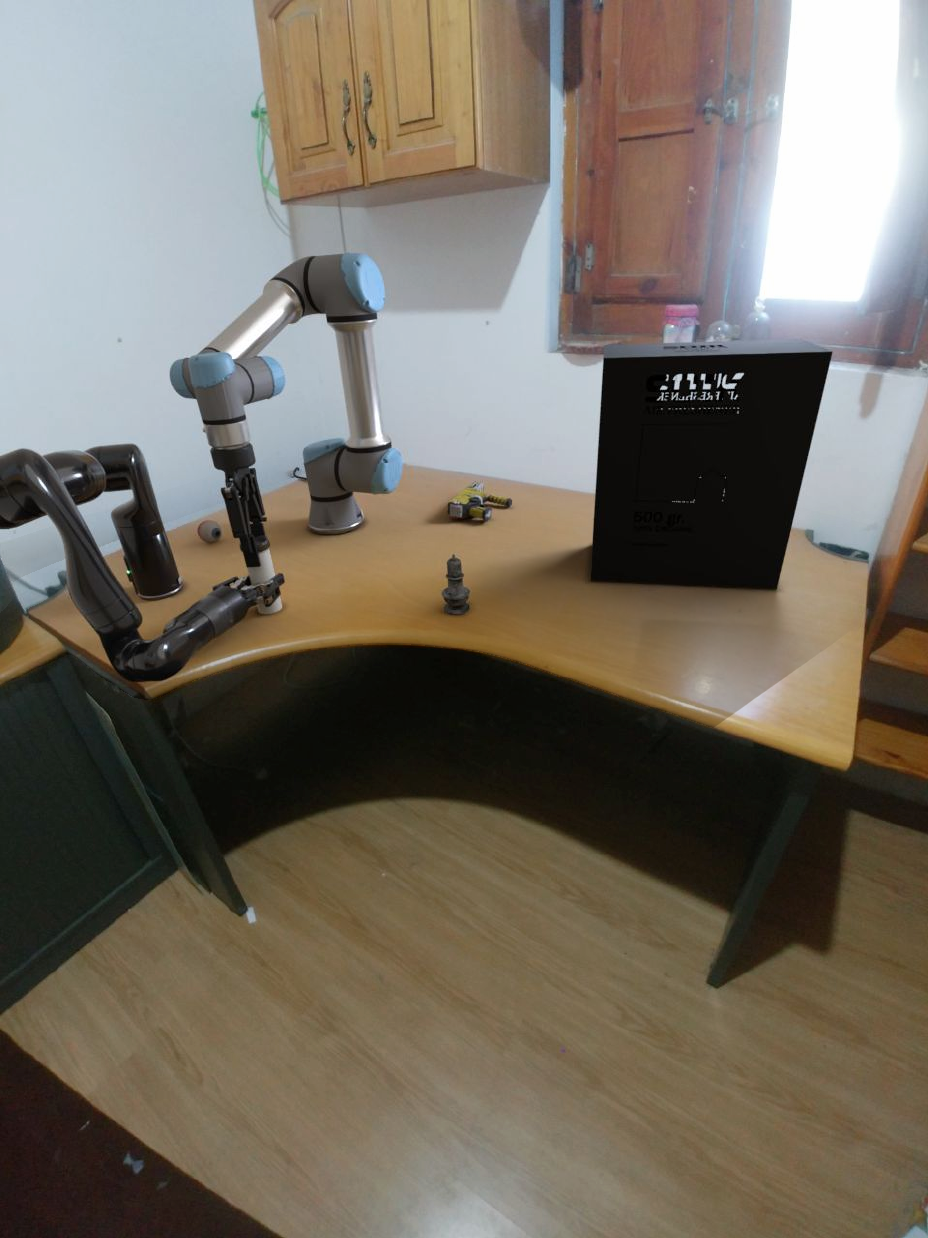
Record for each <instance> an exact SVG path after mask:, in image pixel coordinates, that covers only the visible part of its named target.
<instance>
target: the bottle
mask: <svg viewBox="0 0 928 1238" xmlns="http://www.w3.org/2000/svg"><path fill="white" fill-rule="evenodd" d="M258 554H259V558H260V562H261V566H260V567H246V568H247V572H248V575H249V576H250V580H251V584H252V585H253V584H256V583H258V582H260V583H264V582H266V581H269V580H270V579H271V578H273V577H274V576H275V575H276V573H275V570H274V565H273V559H272V556H271V555H272V554H271V551H270V547H269V548H268V549H267V550H265V551H262V552H259V553H258ZM267 589H268V586H267V587H265V591H267ZM257 590H258V593H259V589H258V588H257ZM259 595H260V593H259ZM256 607H257V612H258V613H259V614H260V615H272V614H275V613H278V612H280V611H281V610H282V609H283V603H282V599H281V595H280V596H279V597H278V598H277V599H276V601H275V602H274V603H273V604H272V605H271V606H270V607H265V604H264V603H258V604H257V605H256Z"/></svg>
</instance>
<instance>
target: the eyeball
mask: <svg viewBox="0 0 928 1238" xmlns="http://www.w3.org/2000/svg"><path fill="white" fill-rule="evenodd" d="M222 534H223V529H222V527H221V525H220V524H219V523H218V522H217V521H215V520H212V519H207V520H204V521H202V522H201V523H200V524H199V525H198V527H197V535H198V538H199V539H201V540H202V541H203V542H205V543H208V544H213V543H216V542H218V541H219V540H220V539H221V538H222Z"/></svg>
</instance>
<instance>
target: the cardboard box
mask: <svg viewBox="0 0 928 1238" xmlns="http://www.w3.org/2000/svg"><path fill="white" fill-rule="evenodd" d="M833 353H834V352H833V350H830V349H827V348H826V347H825V348H824V347H822V346H821V345H818V344H815V343H813V342H810V341H808V340H805V339H802V338H783V339H782V338H781V339H779V338H777V339H776V338H775V339H749V340H747V339H746V340H723V341H722V340H720V341H719V340H718V341H689V342H687V341H685V342H683V341H682V342H657V343H654V342H653V343H627V344H625V343H624V344H623V343H621V344H604V345H603V359H602V362H603V363H602V375H601V389H600V390H601V392H600V409H599V424H598V425H599V426H598V427H599V428H598V442H597V457H596V458H597V459H596V460H597V461H596V475H595V493H594V496H595V497H594V508H593V509H594V510H593V525H592V527H593V528H592V541H591V557H590V558H591V560H590V575H589V576H590V577H589V580H590V582H603V583H622V584H623V583H625V584H626V583H628V584H645V585H647V584H648V585H669V586H670V585H671V586H693V587H712V588H714V587H715V588H734V589H735V588H737V589H755V590H757V589H758V590H759V589H760V590H778V586H779V582H780V577H781V574H782V570H783V565H784V561H785V556H786V553H787V548H788V543H789V539H790V536H791V531H792V526H793V522H794V519H795V513H796V510H797V505H798V501H799V497H800V493H801V489H802V484H803V480H804V476H805V471H806V467H807V464H808V463H807V462H808V458H809V455H810V450H811V446H812V442H813V437H814V434H815V430H816V425H817V421H818V417H819V411H820V407H821V404H822V400H823V399H822V398H823V394H824V390H825V386H826V381H827V378H828V374H829V369H830V366H831V360H832V356H833ZM738 374H742V376H741V377H740V378H735V376H736V375H738ZM678 375H681V379H680V380H679V384H678V388H675V385H676V379H675V377H676V376H678ZM689 375H693V380H692V381H691V379H688V376H689ZM702 375H704V379H702ZM719 378H720V382H719ZM724 378H725V382H724ZM723 382H724V385H730V384H731V385H734V388H725V387H724V386H723ZM691 383H692V385H695V388H691ZM705 385H710V388H704V386H705ZM662 387H666V389H662Z"/></svg>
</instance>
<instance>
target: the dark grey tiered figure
mask: <svg viewBox="0 0 928 1238" xmlns="http://www.w3.org/2000/svg"><path fill="white" fill-rule="evenodd" d="M462 567H463V566H462V561H461V559H460V558H458V557H456V555H455V554H454V553H452V555H451V557H450V558H449V559H448V560H447V561H446V569H447V570H446V574H445V578H446V579H447V587H446V588H444V589H443V590H442V591H441V596H442V598H443V600H444V602H445V603H446V604H445V605H444V607H443V608H444V611H445V612H446V613H448V614H452V615H461V614H464V613H466V612H468V611H469V610H470V608H471V606H470V604H469V603H468V600H469V598H470V595H471V590H470V589H469V588H468V587H466V586H464V579H463V578H464V577H465V574H464V573H463V568H462Z"/></svg>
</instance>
